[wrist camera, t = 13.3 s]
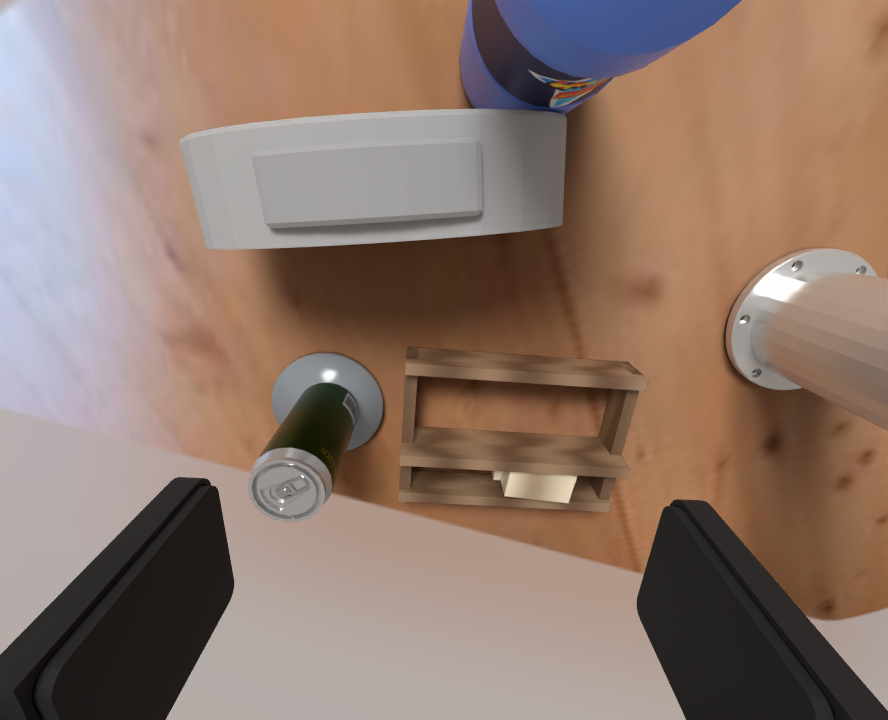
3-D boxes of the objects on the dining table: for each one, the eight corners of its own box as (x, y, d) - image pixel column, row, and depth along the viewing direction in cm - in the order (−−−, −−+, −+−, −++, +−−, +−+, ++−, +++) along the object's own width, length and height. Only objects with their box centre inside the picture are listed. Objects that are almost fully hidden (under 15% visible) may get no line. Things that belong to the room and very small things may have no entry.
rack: (627, 362, 38) (654, 384, 34) (595, 488, 43) (615, 523, 38) (408, 346, 37) (404, 368, 33) (401, 477, 42) (397, 512, 38)
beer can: (338, 368, 37) (295, 442, 26) (371, 415, 39) (345, 503, 27) (288, 396, 38) (226, 479, 27) (323, 440, 40) (278, 536, 28)
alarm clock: (541, 132, 31) (606, 92, 19) (539, 219, 34) (597, 230, 22) (232, 152, 31) (109, 123, 20) (251, 237, 34) (151, 258, 22)
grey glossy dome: (385, 355, 37) (384, 358, 37) (382, 451, 41) (381, 455, 40) (271, 347, 37) (268, 350, 36) (278, 445, 40) (275, 449, 40)
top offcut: (568, 460, 39) (577, 476, 37) (560, 486, 40) (568, 503, 38) (506, 453, 39) (511, 468, 37) (500, 479, 40) (504, 496, 38)
